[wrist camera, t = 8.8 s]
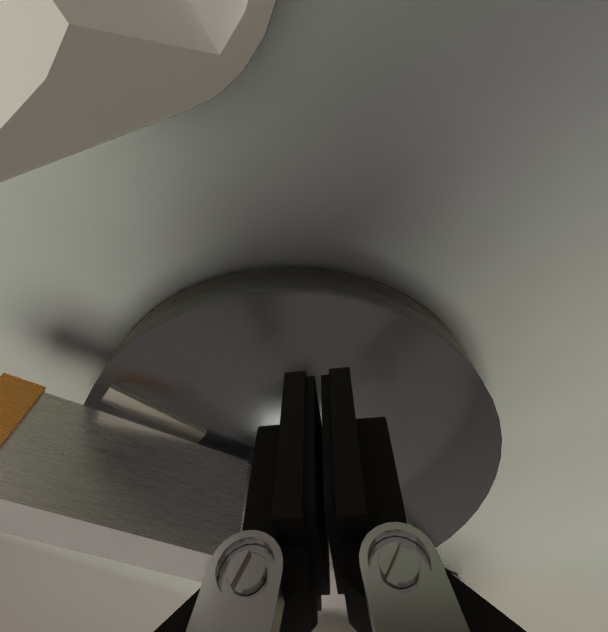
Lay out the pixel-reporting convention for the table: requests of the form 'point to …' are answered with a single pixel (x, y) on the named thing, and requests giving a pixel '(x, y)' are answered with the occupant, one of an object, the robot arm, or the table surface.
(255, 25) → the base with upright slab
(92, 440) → the orange-tipped joystick
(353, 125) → the table surface
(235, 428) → the dark round disc base
